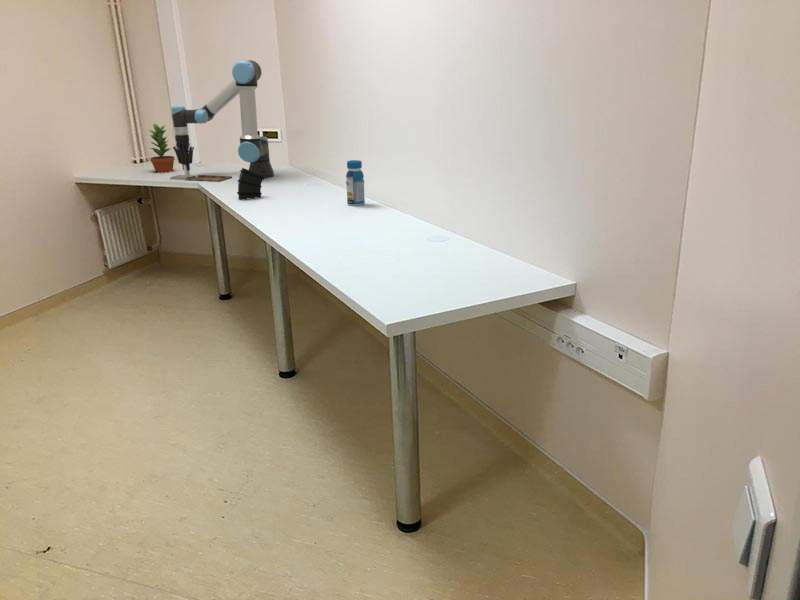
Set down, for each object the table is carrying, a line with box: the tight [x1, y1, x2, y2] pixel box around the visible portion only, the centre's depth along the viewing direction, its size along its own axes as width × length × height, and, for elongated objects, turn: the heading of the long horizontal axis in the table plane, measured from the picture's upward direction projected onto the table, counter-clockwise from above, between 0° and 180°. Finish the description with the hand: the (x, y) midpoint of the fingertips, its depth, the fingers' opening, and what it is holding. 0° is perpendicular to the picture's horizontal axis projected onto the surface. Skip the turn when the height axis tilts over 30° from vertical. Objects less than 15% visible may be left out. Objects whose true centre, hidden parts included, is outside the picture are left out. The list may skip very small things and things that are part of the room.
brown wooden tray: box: [184, 174, 233, 183], centre depth 359 cm, size 23×13×2 cm, turn 71°
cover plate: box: [169, 174, 197, 181], centre depth 364 cm, size 11×9×2 cm
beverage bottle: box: [345, 159, 366, 207], centre depth 287 cm, size 8×8×20 cm
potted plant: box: [148, 123, 175, 173], centre depth 390 cm, size 15×15×30 cm
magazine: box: [237, 167, 265, 200], centre depth 308 cm, size 4×13×15 cm, turn 124°
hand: (187, 175), depth 363 cm, fingers closed
